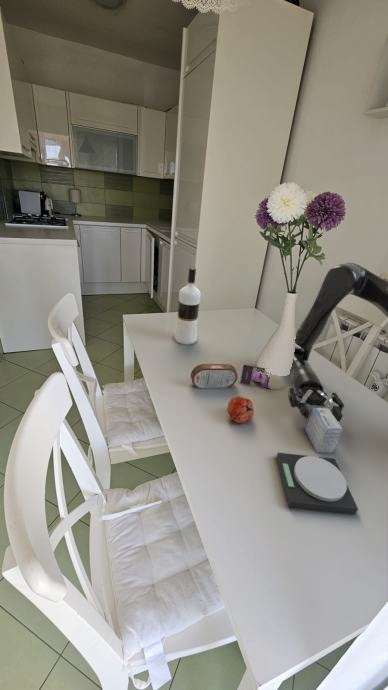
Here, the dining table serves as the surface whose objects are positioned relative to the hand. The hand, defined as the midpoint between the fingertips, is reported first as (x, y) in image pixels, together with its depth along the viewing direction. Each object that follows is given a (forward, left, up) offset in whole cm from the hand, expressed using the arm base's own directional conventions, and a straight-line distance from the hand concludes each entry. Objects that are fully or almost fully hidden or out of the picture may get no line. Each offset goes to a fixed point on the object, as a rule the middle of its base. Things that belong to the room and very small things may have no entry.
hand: (323, 417), depth 80 cm
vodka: (+39, -49, -7) cm, 63 cm away
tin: (+28, -18, -7) cm, 34 cm away
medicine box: (0, +2, -7) cm, 7 cm away
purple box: (+14, -23, -7) cm, 28 cm away
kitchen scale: (+6, +16, -7) cm, 18 cm away
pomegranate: (+21, -4, -7) cm, 23 cm away
